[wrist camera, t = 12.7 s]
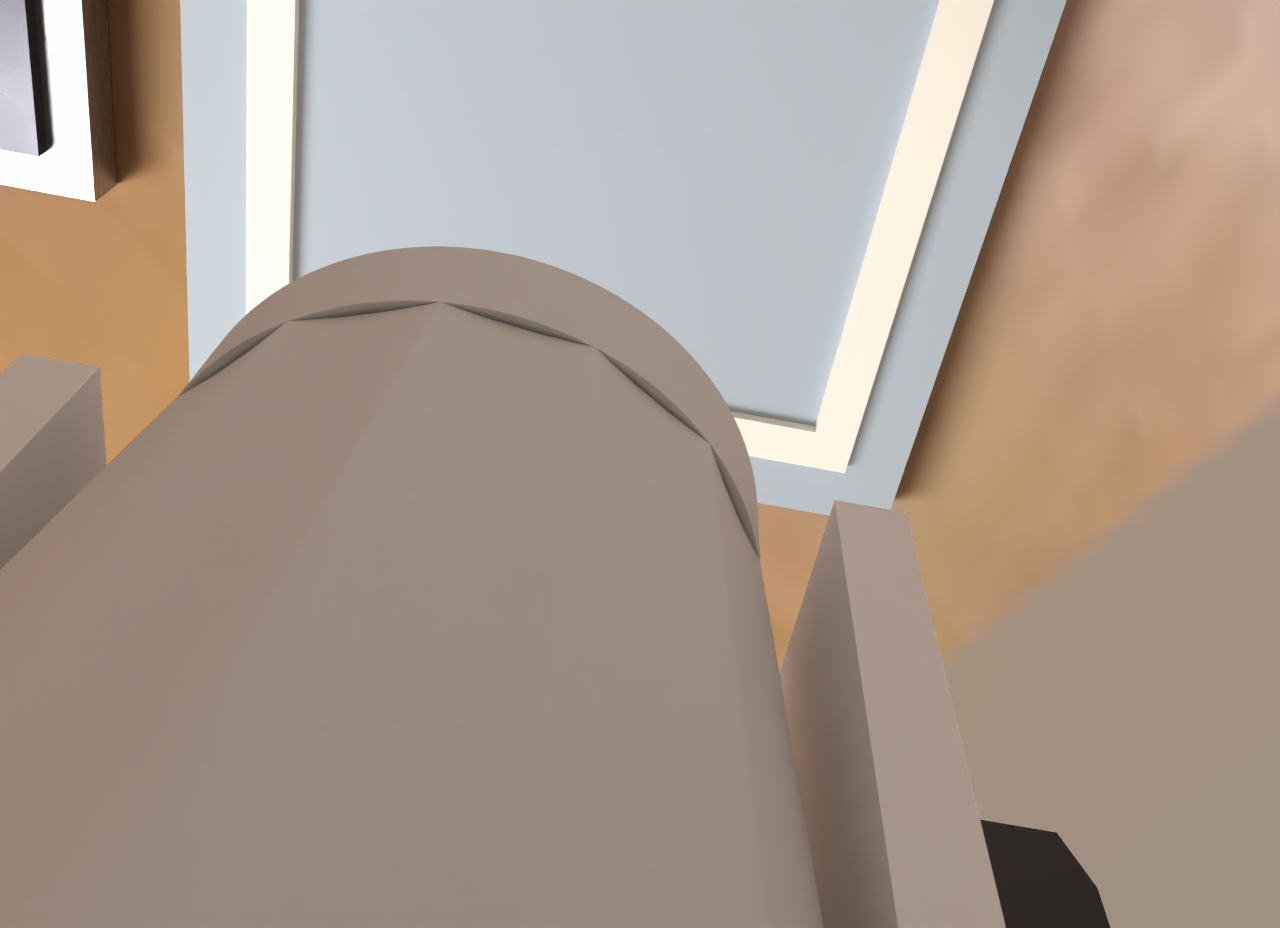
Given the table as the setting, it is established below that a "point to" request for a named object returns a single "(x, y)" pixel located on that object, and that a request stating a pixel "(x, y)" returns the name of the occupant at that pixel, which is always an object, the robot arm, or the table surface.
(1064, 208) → the table surface
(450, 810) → the cup
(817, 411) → the board
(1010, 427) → the table surface
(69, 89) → the ink pad
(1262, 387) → the table surface
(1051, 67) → the table surface
